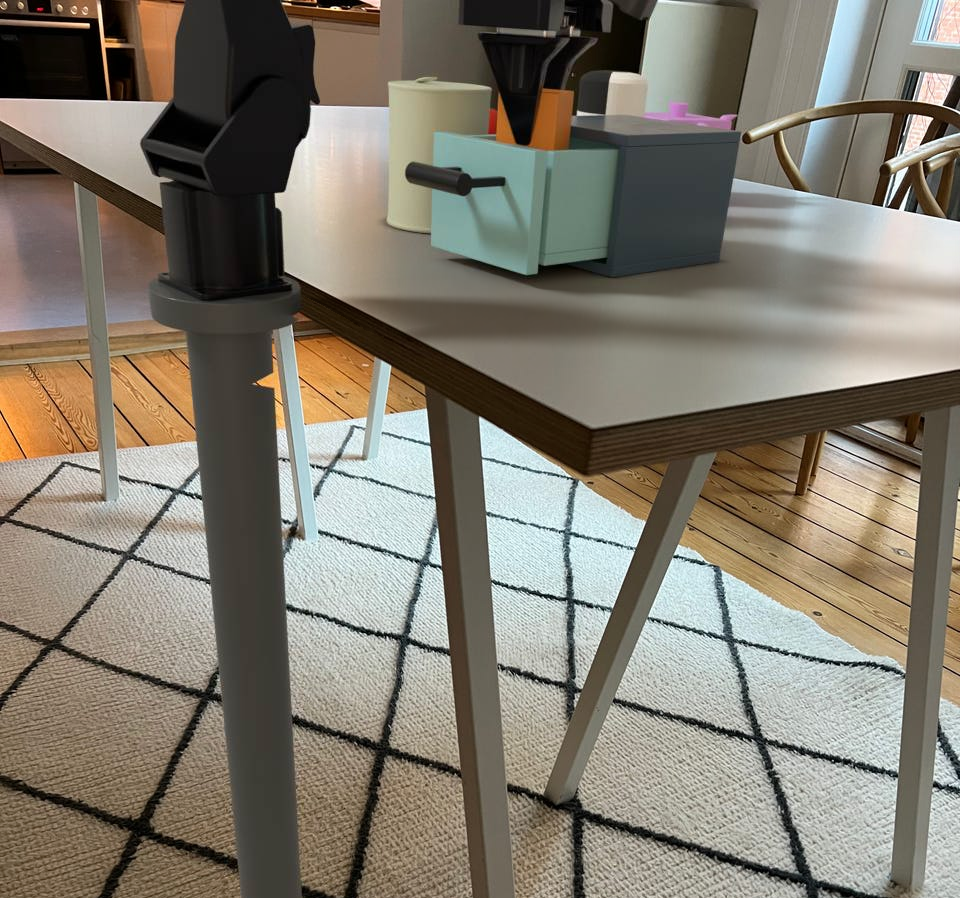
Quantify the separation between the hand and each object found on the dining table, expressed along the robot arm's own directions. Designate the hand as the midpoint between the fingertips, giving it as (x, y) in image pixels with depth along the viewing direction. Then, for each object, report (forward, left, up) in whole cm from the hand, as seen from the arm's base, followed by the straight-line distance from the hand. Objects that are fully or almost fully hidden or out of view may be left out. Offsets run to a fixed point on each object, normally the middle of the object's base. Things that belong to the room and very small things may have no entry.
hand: (532, 141), depth 77 cm
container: (+24, +14, -9) cm, 29 cm away
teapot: (+42, +21, -9) cm, 47 cm away
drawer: (-1, 0, -8) cm, 8 cm away
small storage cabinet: (+11, 0, -9) cm, 14 cm away
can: (+5, +17, -9) cm, 20 cm away
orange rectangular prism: (0, 0, -1) cm, 1 cm away
